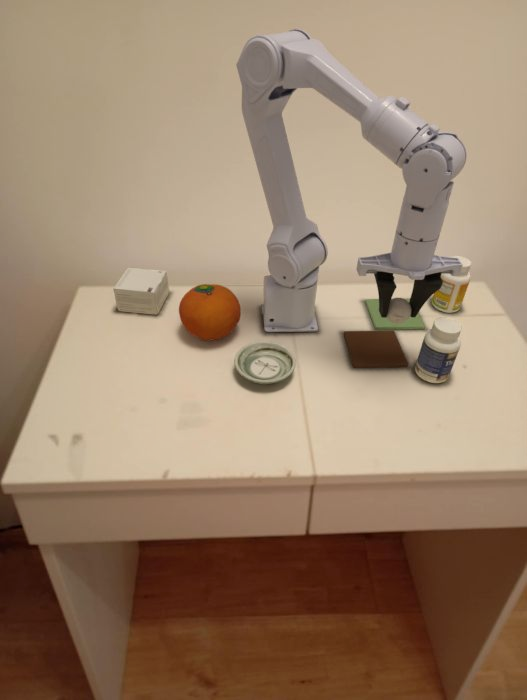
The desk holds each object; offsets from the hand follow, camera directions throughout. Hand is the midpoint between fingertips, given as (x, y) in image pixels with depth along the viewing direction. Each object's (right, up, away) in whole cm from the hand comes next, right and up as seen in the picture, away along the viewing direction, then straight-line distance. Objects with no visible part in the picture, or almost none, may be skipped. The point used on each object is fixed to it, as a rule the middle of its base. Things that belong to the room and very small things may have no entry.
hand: (396, 313), depth 72 cm
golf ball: (0, -1, +1) cm, 2 cm away
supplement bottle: (+15, +3, +19) cm, 24 cm away
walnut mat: (-2, -6, +8) cm, 10 cm away
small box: (-43, +3, +17) cm, 47 cm away
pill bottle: (+7, -9, +4) cm, 12 cm away
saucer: (-20, -9, +3) cm, 23 cm away
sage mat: (+4, +1, +16) cm, 16 cm away
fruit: (-30, -2, +11) cm, 32 cm away
